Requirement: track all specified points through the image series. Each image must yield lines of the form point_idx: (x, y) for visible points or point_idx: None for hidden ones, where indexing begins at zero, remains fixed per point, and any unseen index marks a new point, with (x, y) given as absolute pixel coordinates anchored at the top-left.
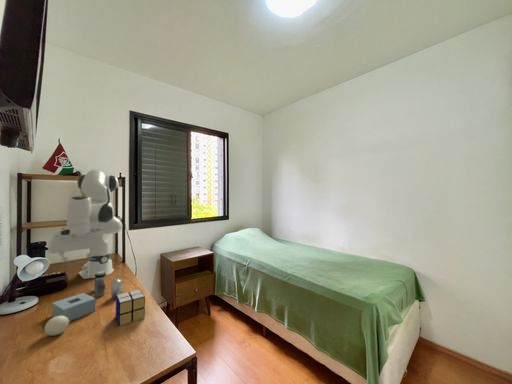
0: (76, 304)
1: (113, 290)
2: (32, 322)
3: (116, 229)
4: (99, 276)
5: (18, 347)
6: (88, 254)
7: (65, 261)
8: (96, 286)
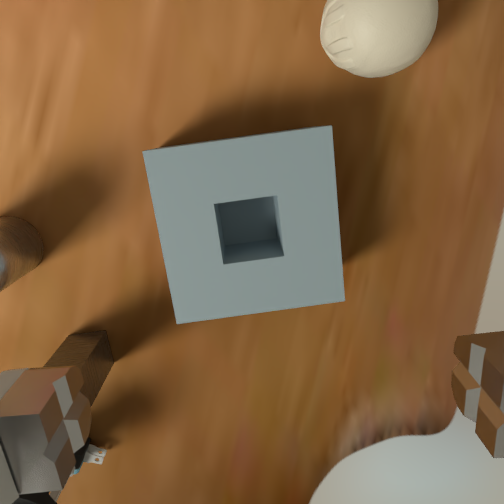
0: (257, 148)
1: (6, 245)
2: (398, 273)
3: None
4: (31, 495)
5: (500, 43)
6: (36, 411)
7: (488, 333)
8: (85, 378)
